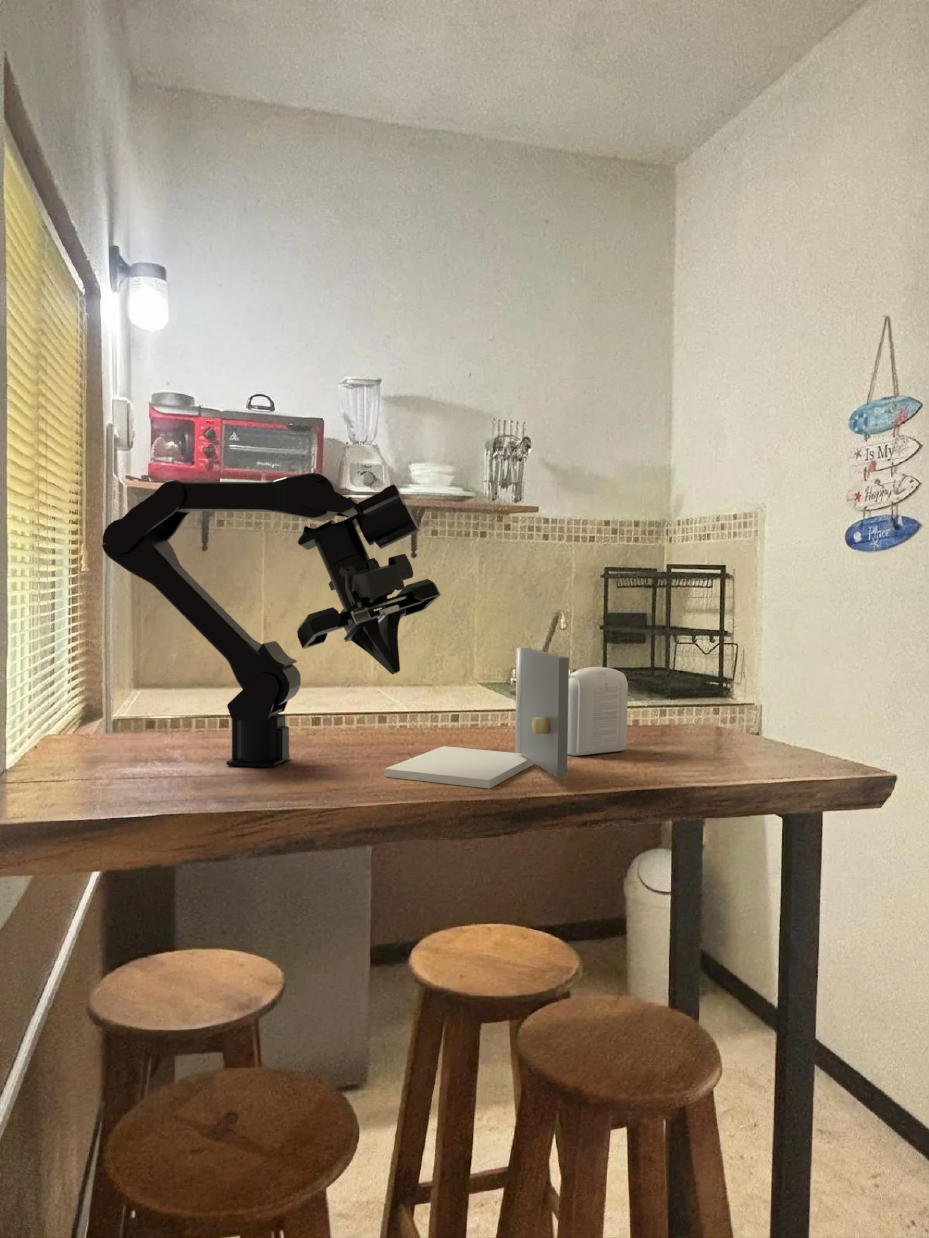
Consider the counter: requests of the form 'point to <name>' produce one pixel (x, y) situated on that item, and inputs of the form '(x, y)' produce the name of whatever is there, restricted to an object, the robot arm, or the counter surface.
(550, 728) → the door
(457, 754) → the board
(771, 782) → the counter surface
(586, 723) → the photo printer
